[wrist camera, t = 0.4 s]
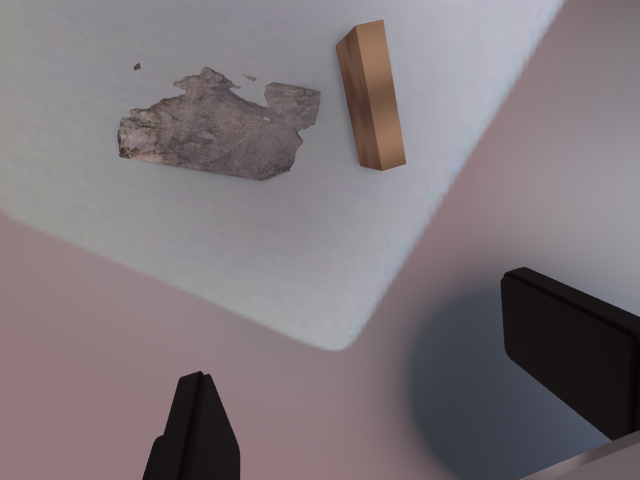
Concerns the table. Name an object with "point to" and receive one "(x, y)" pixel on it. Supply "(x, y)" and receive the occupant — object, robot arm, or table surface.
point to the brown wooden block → (371, 96)
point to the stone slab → (221, 128)
